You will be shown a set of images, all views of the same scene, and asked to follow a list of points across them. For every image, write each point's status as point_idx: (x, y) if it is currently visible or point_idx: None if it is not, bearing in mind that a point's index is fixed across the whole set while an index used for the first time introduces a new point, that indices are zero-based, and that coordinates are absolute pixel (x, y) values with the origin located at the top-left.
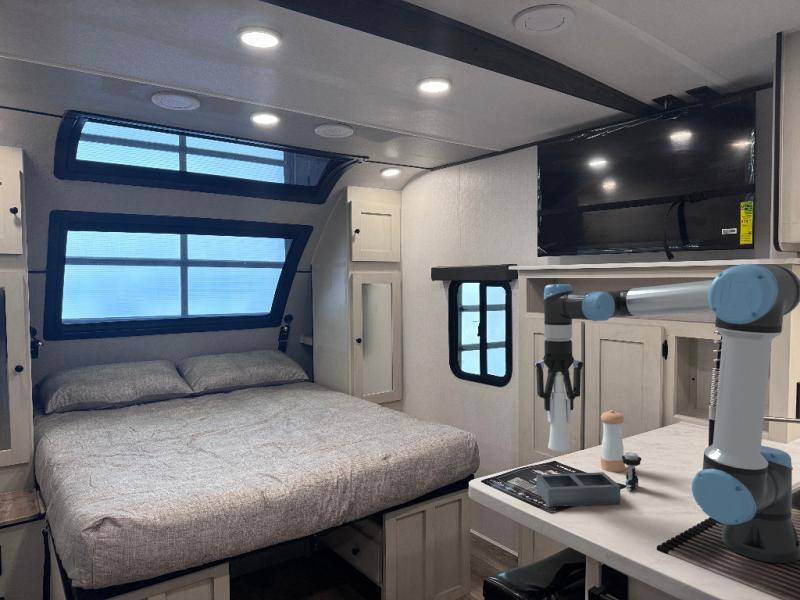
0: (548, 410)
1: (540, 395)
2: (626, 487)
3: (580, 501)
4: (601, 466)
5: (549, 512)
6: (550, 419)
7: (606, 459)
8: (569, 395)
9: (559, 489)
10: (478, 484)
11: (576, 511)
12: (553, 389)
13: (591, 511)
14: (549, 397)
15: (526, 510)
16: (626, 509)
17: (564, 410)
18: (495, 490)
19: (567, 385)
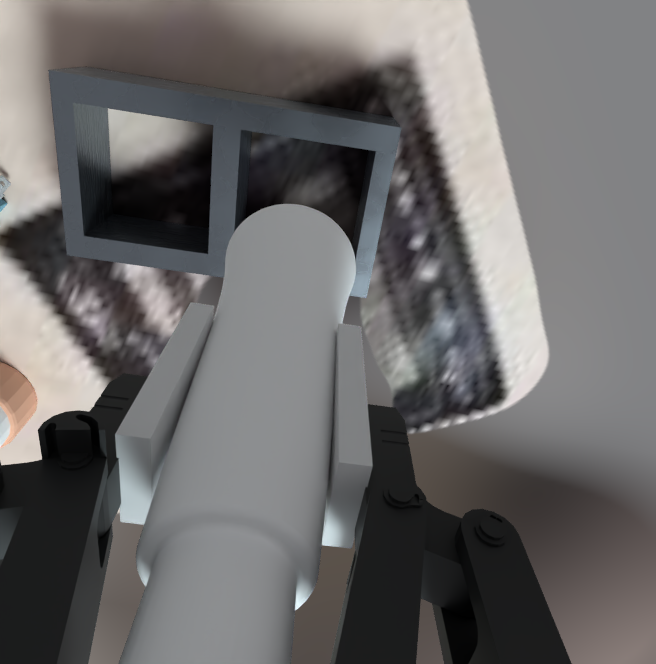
0: (375, 408)
1: (512, 538)
2: (3, 204)
3: (257, 96)
4: (34, 404)
5: (413, 69)
6: (360, 347)
7: (2, 405)
8: (100, 480)
9: (348, 119)
10: (529, 376)
11: (300, 47)
12: (293, 620)
13: (237, 29)
14: (385, 498)
15: (491, 114)
16: (79, 7)
17: (226, 357)
18: (501, 316)
19: (60, 624)
